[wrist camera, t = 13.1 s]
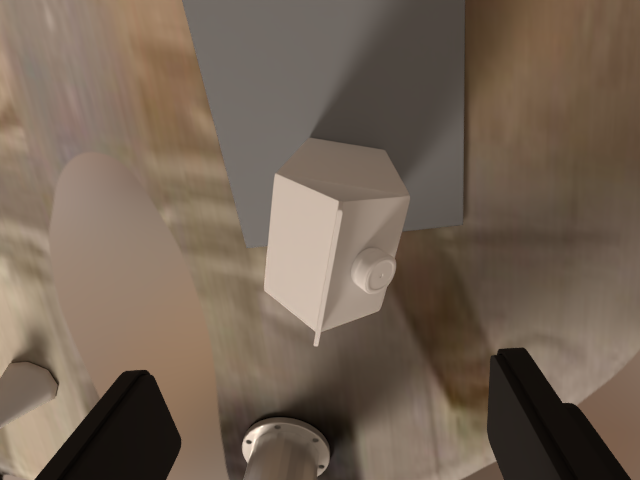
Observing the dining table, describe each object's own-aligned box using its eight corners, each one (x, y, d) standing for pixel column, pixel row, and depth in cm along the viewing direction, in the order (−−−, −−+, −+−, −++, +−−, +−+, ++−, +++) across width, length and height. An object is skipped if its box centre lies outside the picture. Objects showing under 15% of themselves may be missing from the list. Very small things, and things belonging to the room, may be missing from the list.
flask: (3, 355, 47) (-80, 419, 38) (54, 364, 47) (-17, 430, 38) (15, 393, 50) (-60, 461, 41) (63, 401, 50) (-1, 471, 41)
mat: (460, 222, 34) (463, 224, 33) (248, 245, 37) (246, 248, 36) (463, -163, 23) (466, -171, 22) (163, -86, 26) (158, -91, 25)
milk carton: (298, 209, 34) (243, 334, 17) (308, 136, 31) (253, 194, 14) (369, 221, 34) (388, 359, 17) (385, 149, 31) (428, 224, 14)
